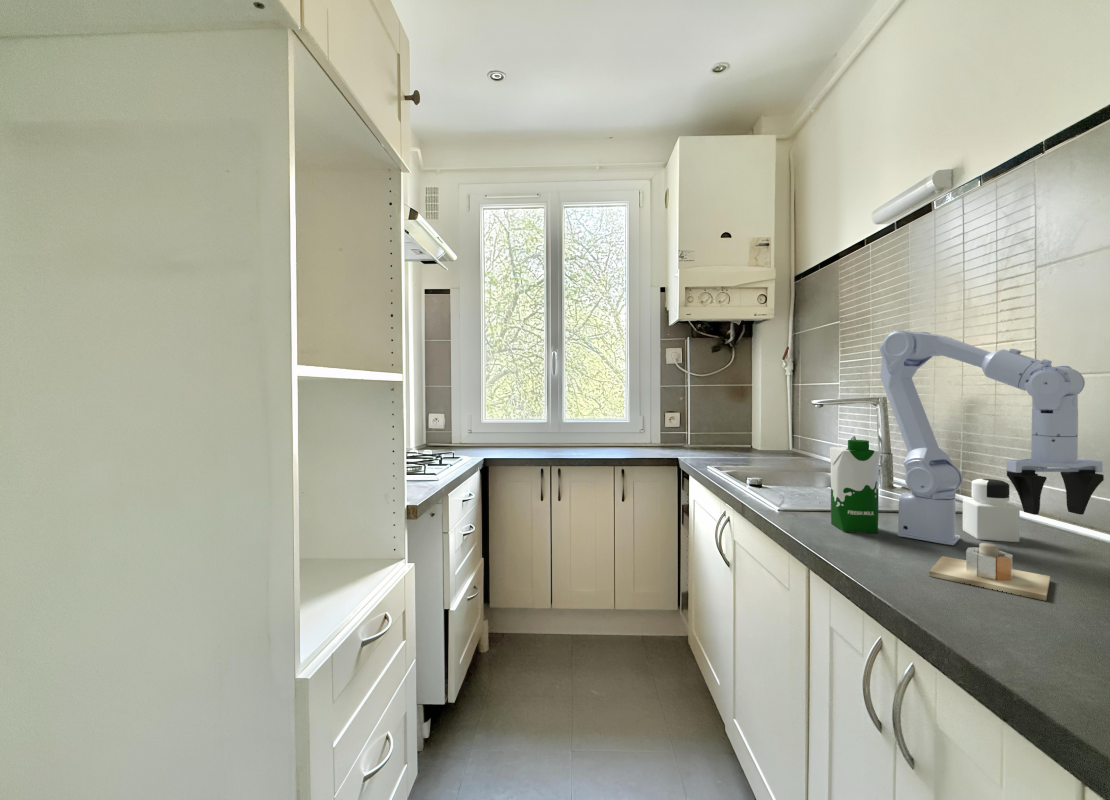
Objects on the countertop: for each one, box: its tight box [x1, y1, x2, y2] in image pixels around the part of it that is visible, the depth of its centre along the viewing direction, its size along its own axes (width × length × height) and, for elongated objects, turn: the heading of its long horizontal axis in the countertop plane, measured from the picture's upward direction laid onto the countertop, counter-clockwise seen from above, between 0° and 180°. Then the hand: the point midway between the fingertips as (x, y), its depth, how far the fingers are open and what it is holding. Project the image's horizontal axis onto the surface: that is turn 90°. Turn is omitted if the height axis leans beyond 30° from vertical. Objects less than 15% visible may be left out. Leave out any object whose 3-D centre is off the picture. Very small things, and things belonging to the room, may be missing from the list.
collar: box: [965, 547, 1014, 580], centre depth 82 cm, size 6×6×4 cm
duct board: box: [928, 542, 1051, 602], centre depth 83 cm, size 14×11×6 cm
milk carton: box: [829, 439, 881, 534], centre depth 113 cm, size 9×9×20 cm
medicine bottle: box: [962, 478, 1021, 543], centre depth 106 cm, size 7×7×12 cm
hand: (1053, 513), depth 88 cm, fingers open, 7 cm apart
